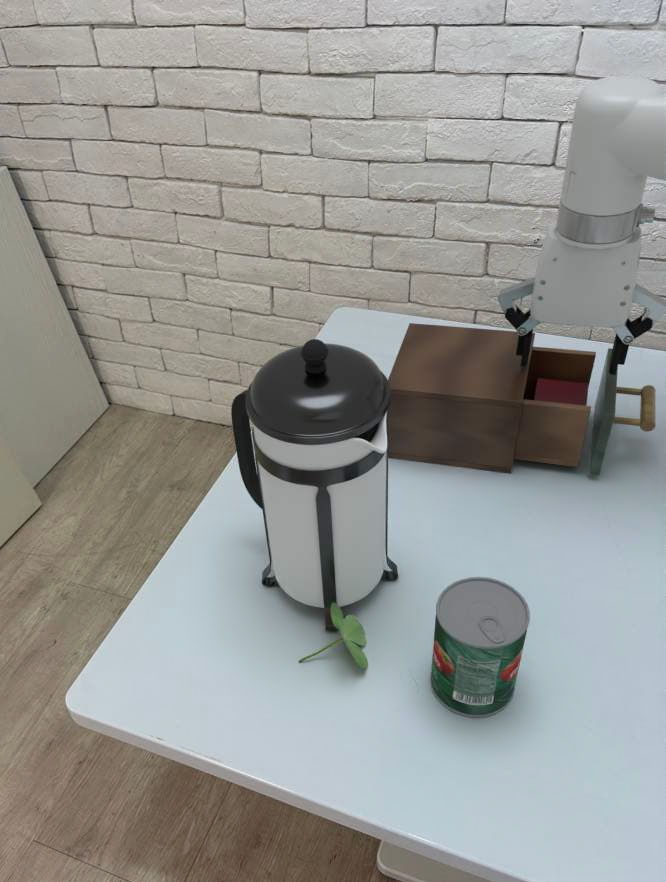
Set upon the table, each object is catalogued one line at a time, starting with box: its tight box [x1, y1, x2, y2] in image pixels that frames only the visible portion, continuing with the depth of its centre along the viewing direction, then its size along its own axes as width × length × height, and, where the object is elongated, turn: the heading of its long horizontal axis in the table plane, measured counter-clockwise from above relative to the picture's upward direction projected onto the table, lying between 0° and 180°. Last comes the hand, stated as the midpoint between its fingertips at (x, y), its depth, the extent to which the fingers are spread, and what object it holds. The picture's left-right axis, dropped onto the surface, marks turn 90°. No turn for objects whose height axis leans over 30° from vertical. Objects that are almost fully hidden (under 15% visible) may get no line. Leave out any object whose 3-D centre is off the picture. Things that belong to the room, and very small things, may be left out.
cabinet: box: [387, 322, 536, 474], centre depth 100 cm, size 16×15×11 cm
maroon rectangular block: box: [534, 378, 590, 406], centre depth 98 cm, size 9×6×4 cm, turn 161°
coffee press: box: [230, 338, 399, 631], centre depth 78 cm, size 17×16×30 cm
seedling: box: [298, 602, 369, 669], centre depth 80 cm, size 7×8×6 cm
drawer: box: [514, 346, 657, 476], centre depth 96 cm, size 19×13×9 cm
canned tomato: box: [429, 576, 531, 718], centre depth 73 cm, size 8×8×11 cm
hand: (567, 364), depth 92 cm, fingers open, 9 cm apart
